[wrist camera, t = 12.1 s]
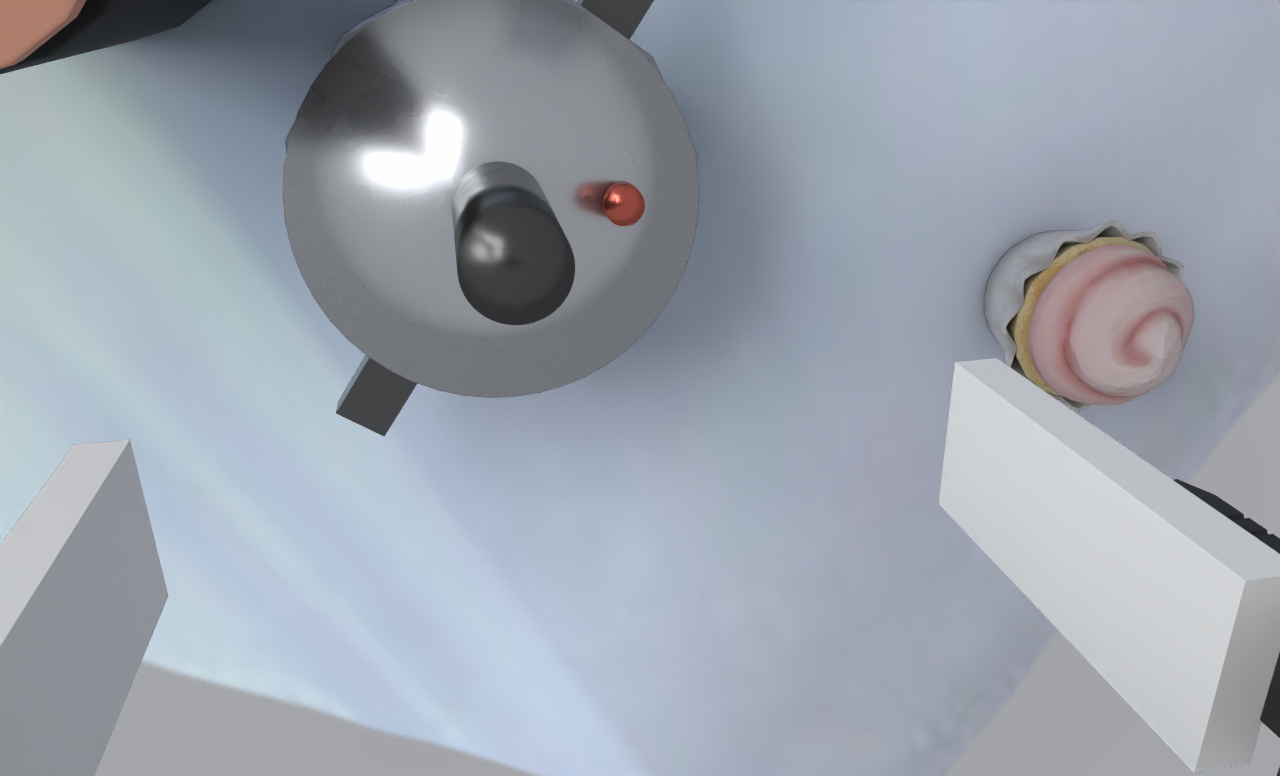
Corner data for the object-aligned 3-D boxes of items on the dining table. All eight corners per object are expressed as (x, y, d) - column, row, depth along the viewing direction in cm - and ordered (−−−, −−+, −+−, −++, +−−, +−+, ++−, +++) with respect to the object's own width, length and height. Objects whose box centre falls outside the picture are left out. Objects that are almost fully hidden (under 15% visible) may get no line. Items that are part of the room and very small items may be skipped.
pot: (504, 415, 48) (520, 508, 40) (223, 271, 43) (174, 343, 34) (745, 44, 43) (818, 62, 35) (462, -168, 38) (471, -203, 30)
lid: (323, 388, 38) (290, 521, 29) (260, -9, 32) (194, 1, 23) (682, 356, 40) (757, 469, 31) (682, -20, 34) (771, -14, 25)
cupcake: (1023, 165, 48) (1161, 212, 39) (1153, 249, 51) (1309, 310, 42) (916, 330, 50) (1023, 410, 41) (1047, 400, 54) (1173, 489, 44)
